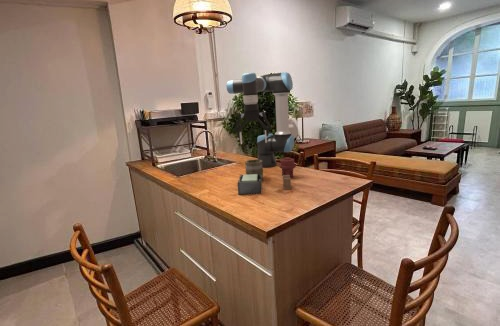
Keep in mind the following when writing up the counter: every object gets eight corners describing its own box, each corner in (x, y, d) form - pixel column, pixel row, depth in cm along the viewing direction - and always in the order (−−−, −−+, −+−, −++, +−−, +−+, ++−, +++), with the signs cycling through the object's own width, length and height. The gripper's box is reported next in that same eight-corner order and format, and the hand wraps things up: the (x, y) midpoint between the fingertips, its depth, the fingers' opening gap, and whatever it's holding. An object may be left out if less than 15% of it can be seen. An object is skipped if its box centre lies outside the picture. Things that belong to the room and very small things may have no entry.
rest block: (283, 185, 152) (282, 175, 151) (289, 185, 152) (289, 174, 151) (284, 189, 145) (283, 179, 143) (291, 189, 144) (290, 178, 143)
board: (243, 178, 154) (243, 174, 153) (257, 177, 153) (257, 174, 153) (241, 184, 142) (241, 180, 142) (257, 183, 142) (256, 180, 141)
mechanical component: (298, 176, 169) (291, 180, 161) (284, 174, 175) (276, 178, 167) (298, 156, 166) (290, 160, 158) (284, 155, 172) (275, 158, 164)
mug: (262, 183, 160) (261, 163, 157) (244, 183, 162) (243, 163, 159) (265, 175, 175) (264, 157, 172) (249, 176, 177) (248, 158, 174)
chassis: (240, 185, 157) (240, 174, 156) (261, 184, 156) (261, 173, 155) (238, 194, 141) (237, 182, 140) (261, 194, 141) (260, 181, 139)
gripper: (226, 105, 141) (230, 145, 146) (274, 102, 139) (276, 142, 145) (228, 105, 148) (232, 143, 154) (274, 101, 147) (276, 140, 152)
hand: (253, 143), depth 149 cm, fingers open, 13 cm apart
